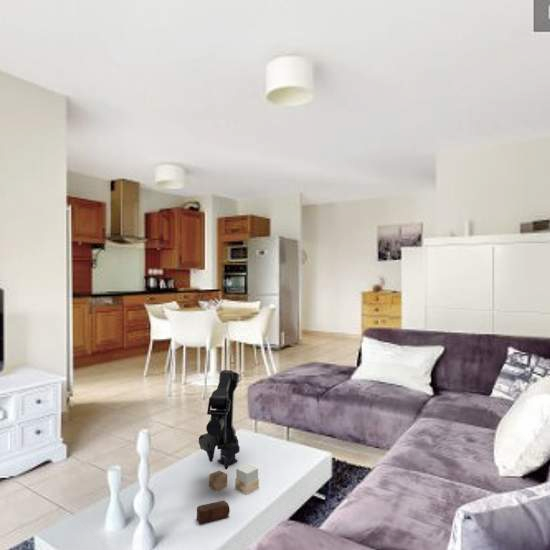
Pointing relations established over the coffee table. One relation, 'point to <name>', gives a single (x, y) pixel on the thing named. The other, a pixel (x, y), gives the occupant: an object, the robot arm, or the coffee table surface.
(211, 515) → the brick
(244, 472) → the tower top
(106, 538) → the coffee table surface
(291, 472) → the coffee table surface
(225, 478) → the walnut block
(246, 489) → the tower base
